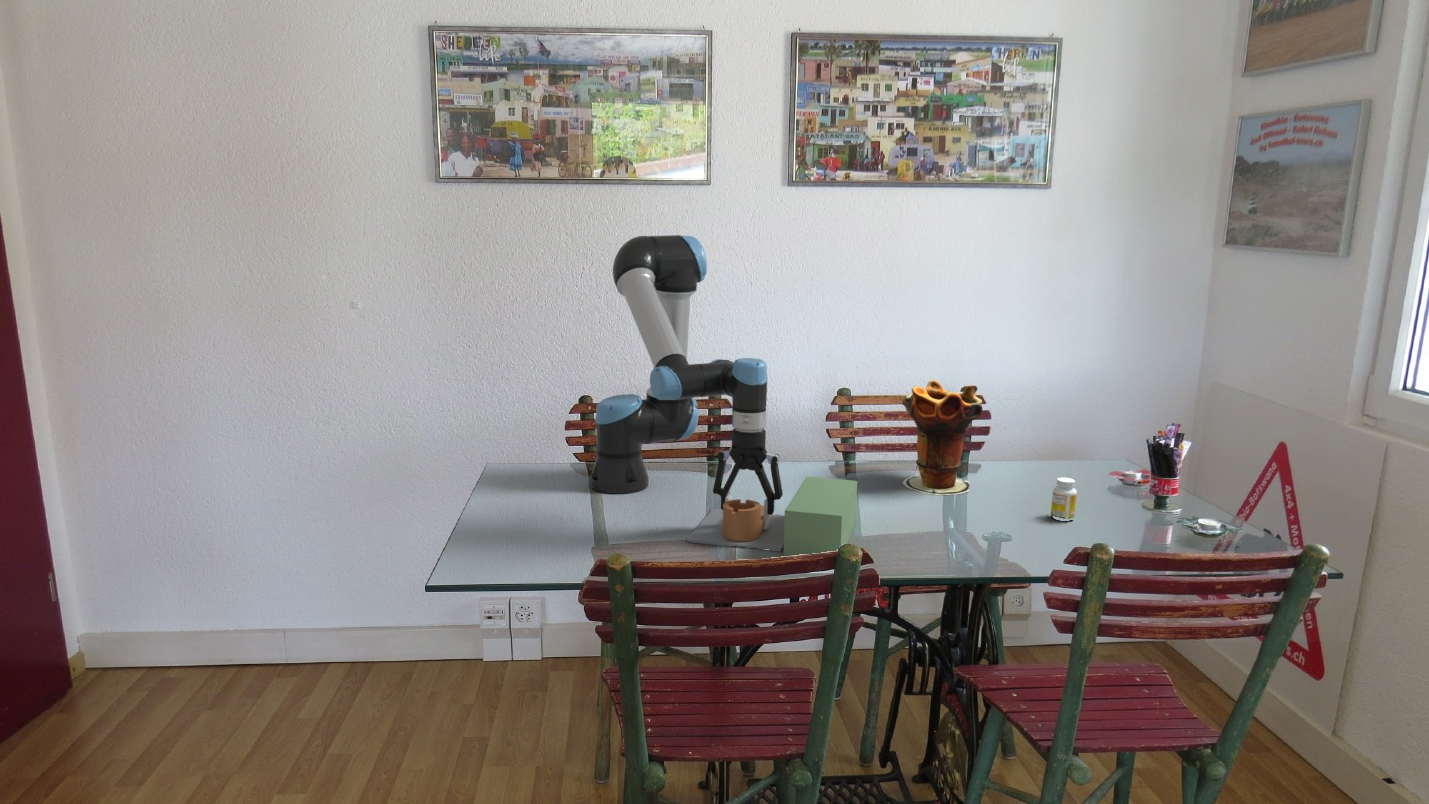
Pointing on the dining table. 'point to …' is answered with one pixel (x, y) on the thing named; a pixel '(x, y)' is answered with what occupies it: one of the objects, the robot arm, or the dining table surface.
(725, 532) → the bracket
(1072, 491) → the supplement bottle
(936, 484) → the decorative vase
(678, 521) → the dining table surface
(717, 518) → the green cube on tray
